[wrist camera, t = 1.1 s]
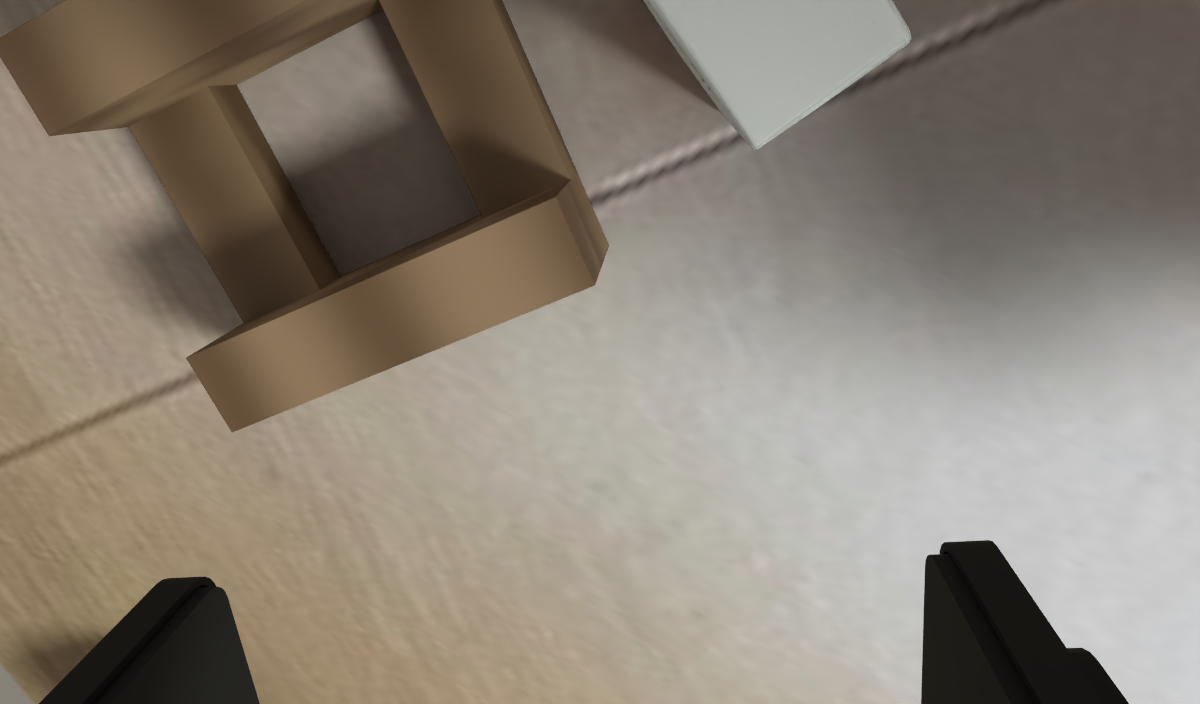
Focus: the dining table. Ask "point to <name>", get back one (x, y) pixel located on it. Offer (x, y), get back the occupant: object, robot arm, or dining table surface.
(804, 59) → the skincare box
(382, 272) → the socket
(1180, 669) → the dining table surface
